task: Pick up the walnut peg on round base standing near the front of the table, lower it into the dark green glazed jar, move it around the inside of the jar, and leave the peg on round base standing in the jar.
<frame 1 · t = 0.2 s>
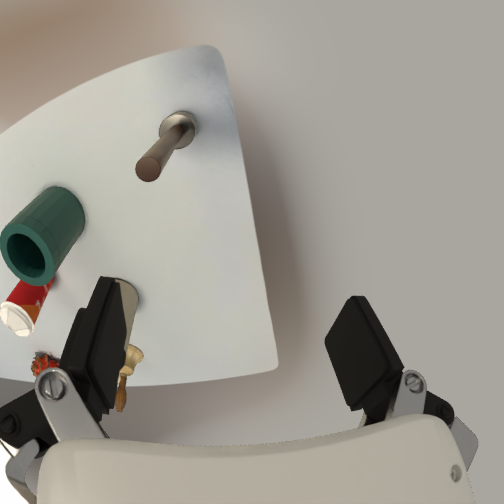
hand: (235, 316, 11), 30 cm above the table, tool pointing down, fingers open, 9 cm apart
hand bell: (127, 352, 58), on the table
dragon fruit: (50, 358, 58), on the table
paper cup: (43, 271, 42), on the table
peg on round base: (180, 126, 33), on the table
travel mug: (119, 293, 47), on the table
jar: (59, 215, 37), on the table
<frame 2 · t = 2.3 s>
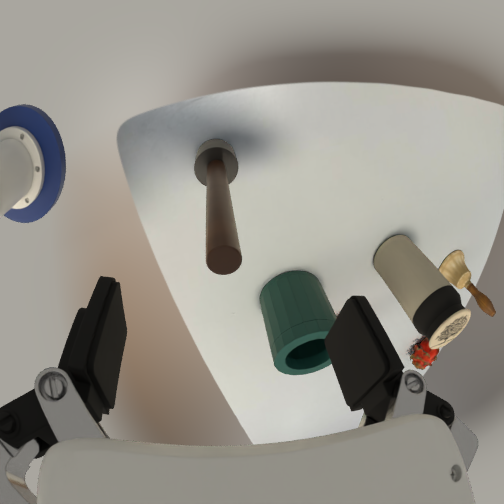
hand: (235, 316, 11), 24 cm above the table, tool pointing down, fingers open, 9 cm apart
hand bell: (450, 265, 48), on the table
dragon fruit: (419, 342, 64), on the table
peg on round base: (215, 157, 30), on the table
travel mug: (391, 253, 42), on the table
jar: (290, 295, 44), on the table
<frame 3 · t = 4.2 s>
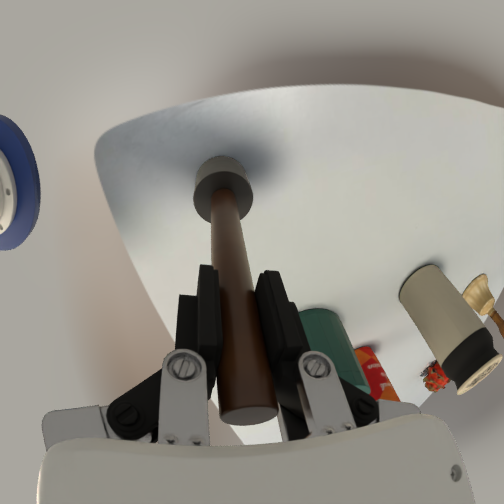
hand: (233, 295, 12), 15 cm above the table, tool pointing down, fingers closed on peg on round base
hand bell: (473, 289, 41), on the table
dragon fruit: (433, 364, 58), on the table
paper cup: (357, 354, 44), on the table
peg on round base: (221, 179, 23), on the table, touching gripper
travel mug: (418, 283, 36), on the table
jar: (306, 333, 37), on the table
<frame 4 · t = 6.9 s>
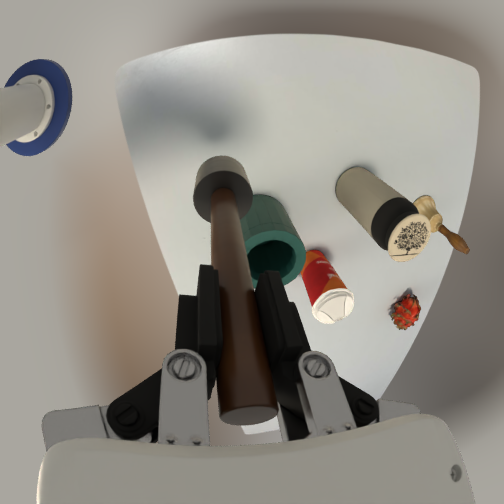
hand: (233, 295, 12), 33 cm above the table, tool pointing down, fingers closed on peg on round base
hand bell: (421, 211, 52), on the table
dragon fruit: (400, 302, 69), on the table
paper cup: (310, 260, 55), on the table
peg on round base: (221, 179, 23), point 19 cm above the table, touching gripper
travel mug: (354, 186, 47), on the table
jar: (257, 221, 48), on the table
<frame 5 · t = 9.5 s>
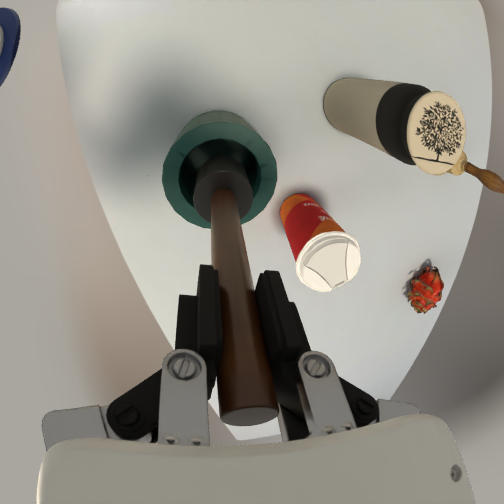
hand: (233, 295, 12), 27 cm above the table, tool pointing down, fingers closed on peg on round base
hand bell: (438, 152, 37), on the table
dragon fruit: (417, 278, 53), on the table
paper cup: (297, 209, 40), on the table
peg on round base: (221, 179, 23), point 12 cm above the table, touching gripper
travel mug: (348, 105, 32), on the table
jar: (217, 148, 33), on the table
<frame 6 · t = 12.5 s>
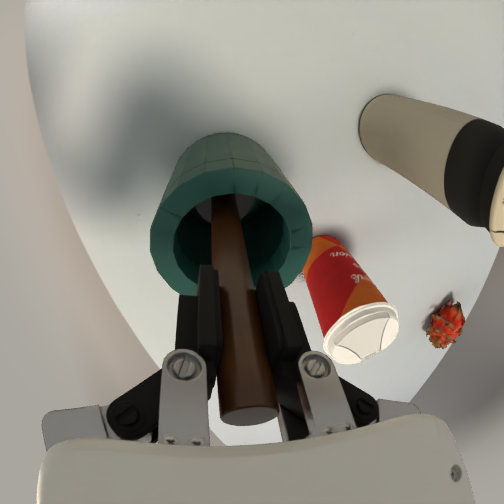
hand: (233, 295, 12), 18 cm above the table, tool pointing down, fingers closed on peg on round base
dragon fruit: (437, 311, 47), on the table
paper cup: (320, 252, 33), on the table
peg on round base: (221, 179, 23), point 3 cm above the table, touching gripper
travel mug: (387, 128, 25), on the table
jar: (224, 182, 27), on the table
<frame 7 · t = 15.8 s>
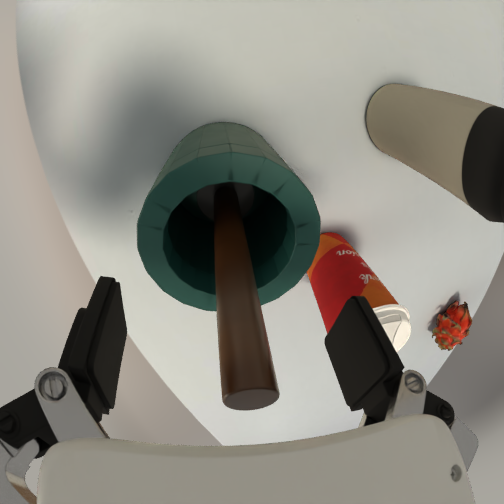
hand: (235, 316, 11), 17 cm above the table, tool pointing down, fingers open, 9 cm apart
dragon fruit: (443, 312, 45), on the table
paper cup: (324, 251, 31), on the table
peg on round base: (223, 178, 24), point 1 cm above the table, touching jar
travel mug: (395, 119, 23), on the table
jar: (222, 175, 25), on the table
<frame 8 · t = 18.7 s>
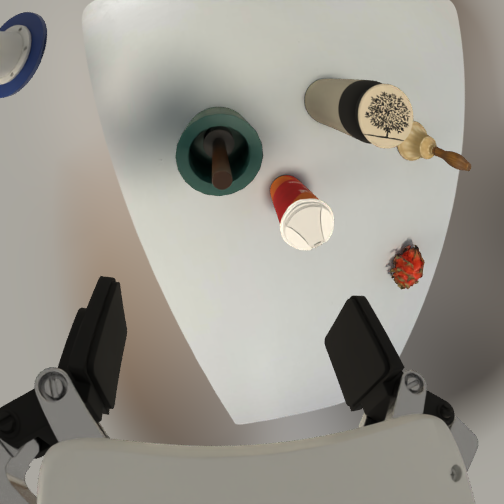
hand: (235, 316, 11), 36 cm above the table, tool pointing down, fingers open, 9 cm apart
hand bell: (411, 140, 44), on the table
dragon fruit: (400, 257, 60), on the table
paper cup: (285, 189, 47), on the table
peg on round base: (218, 138, 40), point 1 cm above the table, touching jar
travel mug: (326, 101, 39), on the table
jar: (217, 137, 40), on the table
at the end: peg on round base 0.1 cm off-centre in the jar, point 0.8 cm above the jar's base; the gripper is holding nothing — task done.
